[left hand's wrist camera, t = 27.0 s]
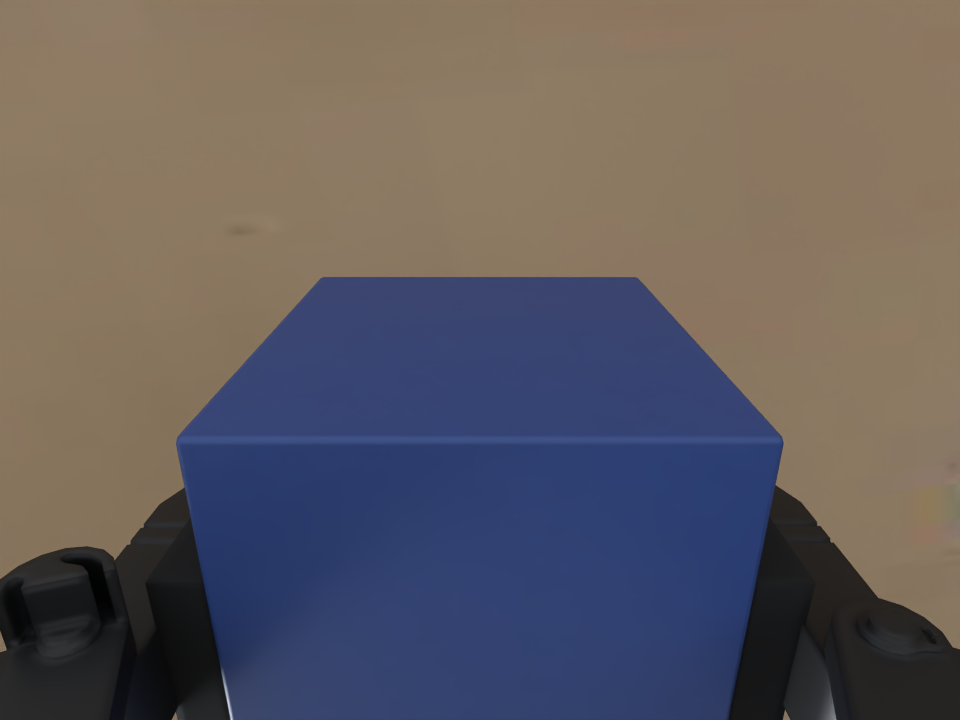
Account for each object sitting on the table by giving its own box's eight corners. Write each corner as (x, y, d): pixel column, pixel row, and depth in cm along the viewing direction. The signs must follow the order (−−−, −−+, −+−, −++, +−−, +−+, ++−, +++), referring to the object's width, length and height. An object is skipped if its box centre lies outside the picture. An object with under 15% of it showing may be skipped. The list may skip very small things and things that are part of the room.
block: (345, 541, 16) (253, 844, 10) (320, 276, 14) (171, 438, 7) (613, 541, 16) (706, 844, 10) (638, 276, 14) (788, 438, 7)
